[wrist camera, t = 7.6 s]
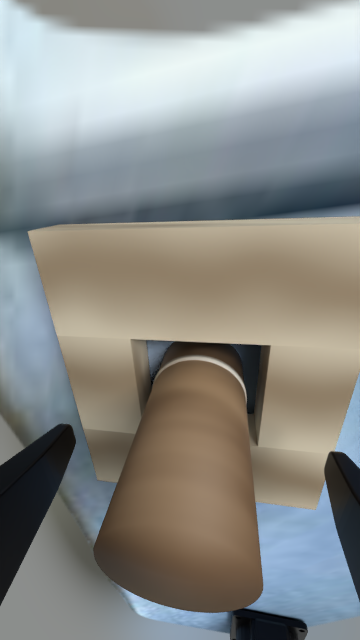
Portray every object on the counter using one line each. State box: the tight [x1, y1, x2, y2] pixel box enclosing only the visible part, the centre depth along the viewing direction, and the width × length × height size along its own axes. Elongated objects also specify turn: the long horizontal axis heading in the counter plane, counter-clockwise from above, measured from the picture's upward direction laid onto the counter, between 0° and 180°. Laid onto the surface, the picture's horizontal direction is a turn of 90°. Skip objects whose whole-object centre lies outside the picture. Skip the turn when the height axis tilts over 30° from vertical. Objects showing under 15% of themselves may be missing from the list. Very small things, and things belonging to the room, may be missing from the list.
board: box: [28, 216, 360, 510], centre depth 12 cm, size 14×12×2 cm
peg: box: [94, 341, 263, 613], centre depth 10 cm, size 4×4×8 cm
